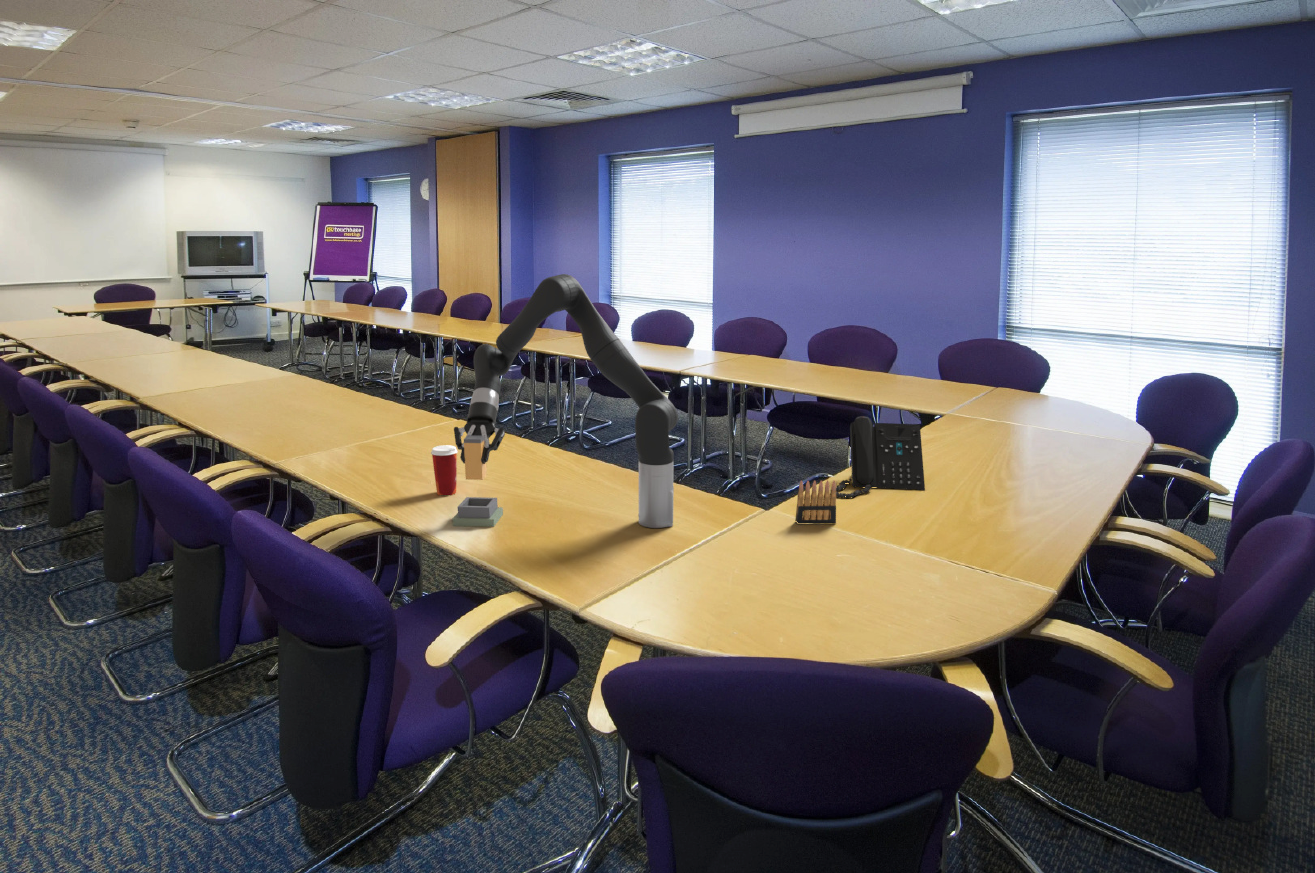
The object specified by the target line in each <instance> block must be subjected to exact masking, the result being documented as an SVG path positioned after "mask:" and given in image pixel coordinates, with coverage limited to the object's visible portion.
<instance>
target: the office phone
mask: <svg viewBox="0 0 1315 873" xmlns="http://www.w3.org/2000/svg"><path fill="white" fill-rule="evenodd" d="M849 431H850V435H849V436H850V437H849V438H850V460H851V461H850V462H851V464H850V465H851V477H850V478H849V480H848V479H843V480H841V481H840V482H839V485H836V491H837V492H836V496H837V497H836V498H839V497H844V498H843V499H852V498H855V497H857V496H859V495H864V494H866V493H869V492H870V490H872V488H871V487H878V488H877V489H889V488H894V489H893V490H910V489H917V490H916V491H926V486H925V470H924V459H923V448H922V447H923V445H922V434H921V424H920V423H919V424H917V423H916V424H915V423H895V422H894V423H892V422H891V423H889V422H875V423H874V422H872V420H871V419H870V418H869V417H868V416H864V415H863V416H861V415H860V416H857V417H856V418H855V419H854V421H853V422H850V426H849ZM845 483H849V484H850V483H851V485H853V486H852V487H865V488H860V489H856V490H855V491H852V492H850V493H845V492H840V491H843V490H844V489H843V488H846V487H847V484H845ZM842 489H843V490H842ZM839 490H840V491H839ZM829 492H831V489H829ZM845 496H846V497H845ZM854 496H855V497H854ZM851 497H852V498H851Z"/></svg>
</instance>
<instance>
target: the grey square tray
mask: <svg viewBox="0 0 1315 873" xmlns="http://www.w3.org/2000/svg"><path fill="white" fill-rule="evenodd" d="M503 515H504V508H503V507H500V506H499V507H498V497H477V496H475V497H473V496H466V497H465V498H464V499H463V500H462V502H460V504H459V505H458V506H457V513H456V514H455V515H454V517H452V526H454V527H456V526H457V527H490V528H491V527H495V526H496V525H497V523H499V521H500V519H501V518H502V517H503Z"/></svg>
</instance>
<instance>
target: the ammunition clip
mask: <svg viewBox="0 0 1315 873" xmlns="http://www.w3.org/2000/svg"><path fill="white" fill-rule="evenodd" d="M805 483H806V484H805V489H804V482H803V480H801V479H800V482H799V485H798V493H797V500H796V501H797V503H796V511H795V520H794V522H795V521H797V522H798V523H837V497H836V487H837V484H836V481H835V479H833V481H832V484H831V488H830V482H829V480H826V482H825V485H823V480H820V481H819V484H818V490H817V481H816V480H813V483H812V486H810V484H811V483H810V481H809V480H807V482H805ZM824 486H825V487H824ZM830 490H831V491H830Z"/></svg>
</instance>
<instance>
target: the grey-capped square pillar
mask: <svg viewBox="0 0 1315 873" xmlns="http://www.w3.org/2000/svg"><path fill="white" fill-rule="evenodd" d="M465 437H466V436H465ZM465 437H464V438H463V443H464V455H465V464H464V472H465V480H473V481H475V480H477V481H478V480H479V481H483V480H484V479H485V478H486V477H487V475H488V470H487V462H486V463H485V464H482V462H481V458H482V453H483V448H484V438H485V436H482V435H468V436H467V437H466V438H465Z"/></svg>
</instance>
